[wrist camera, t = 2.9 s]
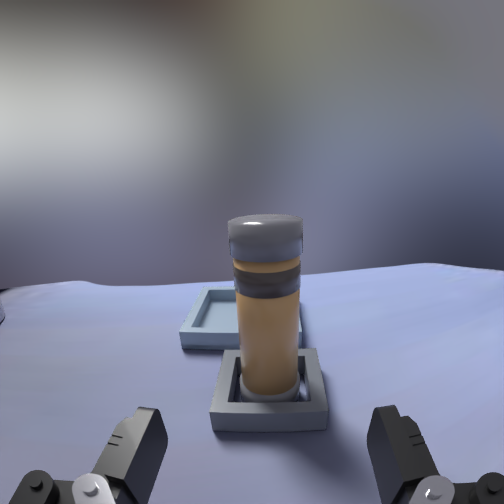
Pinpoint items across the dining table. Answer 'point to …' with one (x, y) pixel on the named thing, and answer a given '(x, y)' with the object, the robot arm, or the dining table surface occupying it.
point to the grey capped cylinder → (267, 304)
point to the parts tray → (214, 321)
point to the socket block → (269, 414)
